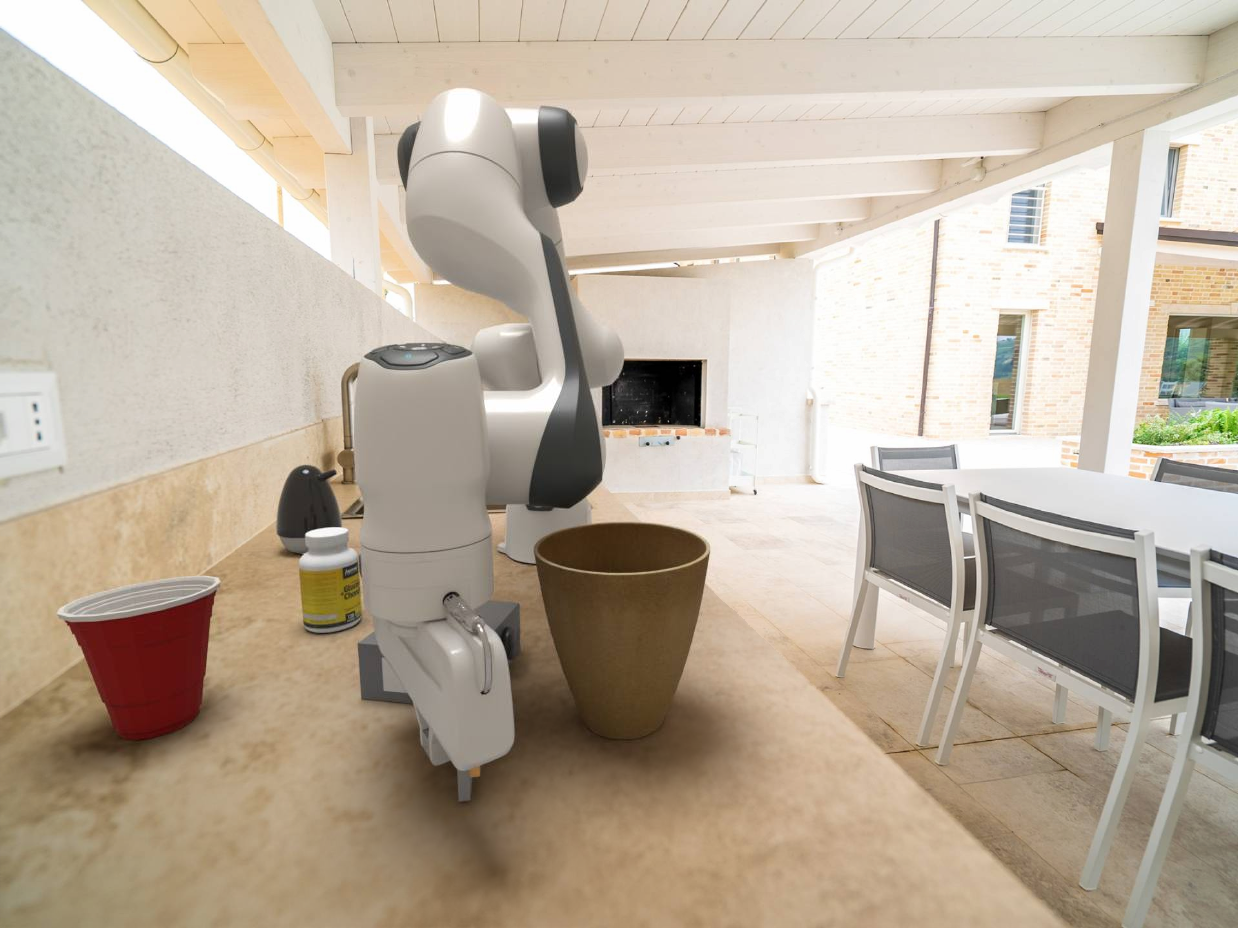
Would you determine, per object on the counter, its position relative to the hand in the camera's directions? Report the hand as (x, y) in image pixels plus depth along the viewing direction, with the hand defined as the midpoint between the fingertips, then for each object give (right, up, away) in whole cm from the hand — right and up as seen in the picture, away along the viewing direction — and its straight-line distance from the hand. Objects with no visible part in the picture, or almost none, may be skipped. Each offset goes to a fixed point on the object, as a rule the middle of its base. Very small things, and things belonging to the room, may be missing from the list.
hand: (438, 753), depth 43 cm
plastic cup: (-27, -1, +8) cm, 28 cm away
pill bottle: (-22, +2, +28) cm, 36 cm away
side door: (+2, -1, +3) cm, 4 cm away
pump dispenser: (-41, +6, +59) cm, 72 cm away
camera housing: (-4, 0, +16) cm, 17 cm away
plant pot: (+14, -1, +8) cm, 16 cm away
